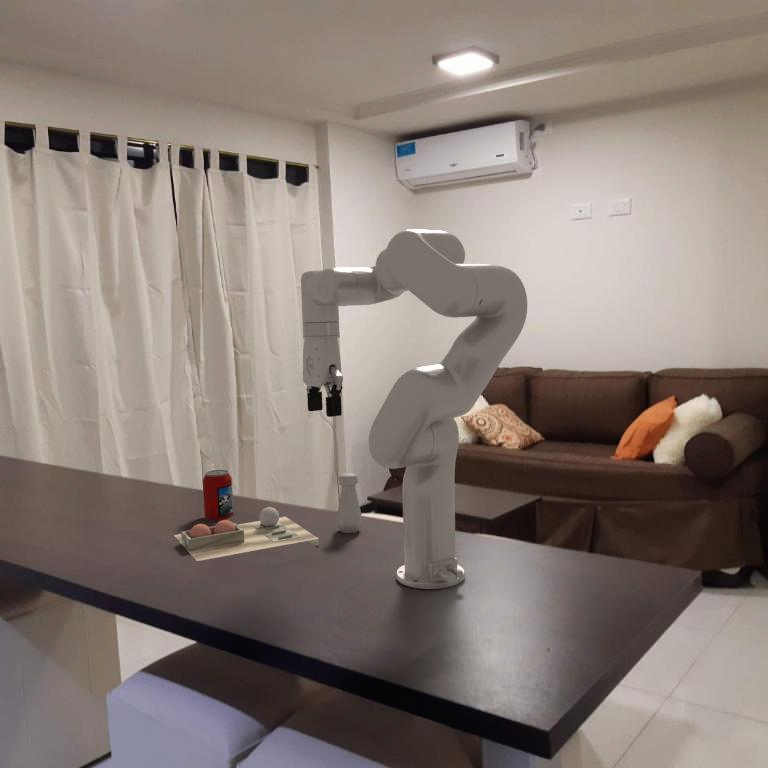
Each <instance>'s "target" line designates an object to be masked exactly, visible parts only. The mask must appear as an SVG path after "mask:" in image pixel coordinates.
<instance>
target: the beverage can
mask: <svg viewBox="0 0 768 768" xmlns="http://www.w3.org/2000/svg"><path fill="white" fill-rule="evenodd" d="M204 474H205V475H204V476H203V479H202V489H203V490H202V491H203V492H202V494H203V507H204V508H203V510H204V518H205V519H207V520H213V521H215V520H226V519H228V518H232V517H233V516H234V514H235V513H234V497H233V480H232V476H231V475H230V473H229V470H227V469H216V470H214V469H213V470H209V471H206V472H205V473H204Z"/></svg>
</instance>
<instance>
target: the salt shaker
mask: <svg viewBox="0 0 768 768" xmlns="http://www.w3.org/2000/svg"><path fill="white" fill-rule="evenodd" d="M337 480H338V485H339V486H341V488H340V489H341V490H340V495H339V501H338V507H337V514H336V524H337V526H338V528H339V531H340V532H341V533H344V534H354V533H357V532H358V531H360V528H361V525H362V523H363V516H362V512H361V506H360V502H359V497H358V492H357V488H356V487H357V486H356V485H357V484H358V481H359V480H358V475H357V474H356V473H353V472H344V473H341V474H340V475H339V476H338V479H337Z"/></svg>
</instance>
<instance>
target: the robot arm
mask: <svg viewBox="0 0 768 768" xmlns="http://www.w3.org/2000/svg"><path fill="white" fill-rule="evenodd" d="M465 259H466V249H465V247H464V245H463V243H462V242H461V241H460V239H459V238H458V237H457V236H455V235H454V234H452V233H450V232H447V231H444V230H434V229H433V230H431V229H416V228H415V229H414V228H413V229H405V230H402V231H399V232H398V233H396V234H395V235H393V237H391V239H390V240H389V242H388V243H387V246H386V248H385V249H382V251H380V252H379V254H378V256H377V258H376V260H375V261H376V262H375V265H373V266H370V267H369V266H368V267H330V268H326V269H322V270H309V271H308V270H307V271H305V272H303V273H302V274H301V275H300V276H301V278H300V290H301V291H300V293H301V315H302V317H301V318H302V339H303V347H302V348H303V349H302V350H303V351H302V381H303V383H304V384H305V385H306V392H307V393H306V394H307V395H306V398H307V412H317V411H318V412H319V411H322V410H323V407H324V406H323V391H321V388H322V387H324V390H325V392H326V397H325V411H326V412H325V415H326V417H329V418H330V417H341V416H342V413H343V412H342V411H343V410H342V395H343V392H342V390H343V381H344V376H343V375H342V366H341V353H340V345H339V340H338V339H340V338H341V337H340V313H339V312H340V309H339V308H340V307H347V306H350V307H351V306H371V305H376V304H379V303H383V302H387V301H391V300H393V299H396V298H398V297H401V295H402V294H404V292H407V291H409V292H410V293H411V294H412V295H413V296H415V297H416V298H417V299H418V300H419V301H421V302H423V304H424V305H426V307H428V308H429V309H431V310H432V311H434V312H435V313H436V314H438V315H441V316H443V317H446V318H447V317H448V318H453V319H454V318H455V319H458V318H469V317H470V318H472V317H475V318H474V319H473V321H472V322H471V323H469V325H468V326H466V328H465V329H463V330H462V331H461V332H460V334H459V335H458V336H457V337H456V338H455V340H454V341H453V344H452V345H451V347H450V349H449V350H448V352H447V353H446V355H445V356H444V358H443V359H442V360H441V361H440V362H438V363H436V364H433V365H426V366H425V365H423V366H417V367H414V368H411V369H410V370H407V371H405V372H404V373H403V374H402V375H401V376H399V378H398V379H397V380H396V382H395V383H394V384H393V386H392V388H391V389H390V391H389V393H388V395H387V397H386V398H385V400H384V402H383V404H382V406H381V408H380V409H379V411H378V413H377V415H376V416H375V418H374V421H373V422H372V424H371V428H370V431H369V435H368V449H369V450H368V451H369V453H370V455H371V458H373V460H374V462H375V463H376V464H378V465H380V466H381V467H383V468H385V469H393V470H395V469H401V468H405V471H404V474H403V478H402V479H403V480H402V525H403V529H402V530H403V554H404V555H403V556H404V557H403V558H404V559H403V560H404V565H401V566H400V567H399V568H398V569H397V570H396V572H395V574H396V581H398V582H399V583H400V584H402V585H404V586H407V587H409V588H412V589H419V590H420V589H421V590H439V589H440V590H441V589H447V588H450V587H454V586H456V585H459V584H460V583H462V582H463V581H464V580H465V573H466V572H465V569H464V568H463V567H462V566H460V565H459V564H458V558H457V557H456V556H457V555H456V554H457V552H456V551H457V550H456V549H457V548H456V513H455V512H456V508H455V506H456V505H455V504H456V503H455V495H456V494H455V489H456V488H455V487H456V486H455V477H456V476H455V473H456V472H455V470H456V461H457V459H456V458H457V454H458V449H459V438H460V432H459V427H458V424H457V421H456V419H455V418H458V417H461V416H465V415H467V414H468V413H469V412H470V411H472V409H473V408H474V406H475V405H476V403H477V401H478V400H479V398H480V396H481V395H482V393H484V391H485V389H486V388H487V386H488V384H489V383H490V381H491V379H492V378H493V376H494V374H495V373H496V372H497V369H498V368H499V366H500V365H501V363H502V361H503V360H504V359H505V357H506V356H507V355H508V353H509V351H510V350H511V349H512V348H513V346H514V344H515V342H516V341H517V339H518V338H519V336H520V334H521V333H522V330H523V328H524V326H525V324H526V319H527V314H528V296H527V292H526V289H525V285H524V283H523V282H522V279H521V278H520V277H519V275H518V274H516V272H514V271H513V270H512V269H509V268H507V267H505V266H502V265H496V264H489V263H487V264H486V263H485V264H484V263H483V264H482V263H475V264H472V263H471V264H470V263H465V261H466V260H465Z"/></svg>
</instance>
